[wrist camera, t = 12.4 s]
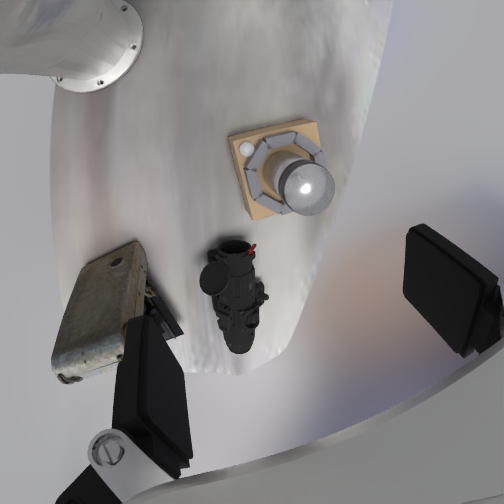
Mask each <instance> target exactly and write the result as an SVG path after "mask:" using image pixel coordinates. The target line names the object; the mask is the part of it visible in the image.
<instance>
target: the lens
mask: <svg viewBox="0 0 504 504" xmlns="http://www.w3.org/2000/svg"><path fill="white" fill-rule="evenodd" d="M263 178H264V181H265V183H266V184H267V185H268V186H269V187H270V188H271V189H272V190H273V191H274V192H275V193H276V194H277V195H278V196H279V197H280V198H281V199H282V201H283V202H284V203H285V204H286V205H287V206H288V207H289V208H290V209H291V210H293V211H294V212H296V213H298V214H300V215H304V216H312V215H316V214H318V213H320V212H322V211H323V210H325V209H326V208H327V207H328V206H329V204H330V203H331V201H332V199H333V197H334V193H335V183H334V179H333V177H332V175H331V174H330V172H329V171H328V170H327V169H326V168H325V167H323V166H321V165H320V164H318V163H316V162H314V161H311V160H307V159H305V158H303V157H301V156H299V155H297V154H295V153H293V152H291V151H286V150H283V151H278V152H276V153H274V154H272V155H271V156H270V157H269V158H268V159H267V160H266V162H265V164H264V167H263Z"/></svg>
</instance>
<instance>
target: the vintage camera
mask: <svg viewBox="0 0 504 504" xmlns="http://www.w3.org/2000/svg"><path fill="white" fill-rule="evenodd" d="M146 272H147V260H146V255H145V252H144V250H143V248H142V246H141V245H140V243H138V242H134V243H131V244H129V245H127V246H125V247H123V248H121V249H118V250H117V251H115V252H113V253H111V254H109V255H107V256H104V257H102V258H100V259H98V260H96V261H94V262H92V263H90V264H88V265H86V266H84V267H83V268H82V269H81V271H80V273H79V276H78V278H77V281H76V283H75V286H74V289H73V291H72V294H71V296H70V299H69V302H68V305H67V307H66V310H65V313H64V316H63V319H62V322H61V326H60V329H59V332H58V336H57V339H56V342H55V346H54V349H53V353H52V357H51V365H52V370H53V372H54V374H55V375H56V376H57V378H58V379H59V380H60V381H61V382H62V383H63V384H73V383H74V382H79V381H81V380H83V379H85V378H88V377H91V376H95V375H98V374H102V373H105V372H108V371H112V370H115V369H117V366H118V363H119V362H120V361H123V353H124V345H125V337H126V330H127V323H128V320H129V319H130V318H134V317H137V316H141V315H145V316H146V317H147V318H149V317H152V318H153V320H154V322H155V323H156V325H157V327H158V329H159V330H160V332H161V334H162V336H163V337H164V339H165V341H167V340H169V339H172V338H174V339H175V338H176V337H177V336H180V335H183V334H184V333H183V331H182V329H181V328H180V326H179V325H178V323H177V322H176V320H175V319H174V317H173V315H172V314H171V312H170V311H169V309H168V308H167V306H166V304H165V303H164V301H163V300H162V299H161V297H160V296H159V294H158V293H157V291H156V289H155V288H154V286H153V284H152V282H151V281H150V279H149V278H148V276H147V274H146Z"/></svg>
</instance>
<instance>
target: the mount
mask: <svg viewBox="0 0 504 504" xmlns="http://www.w3.org/2000/svg"><path fill="white" fill-rule="evenodd" d="M228 140H229V144H230V148H231V152H232V156H233V160H234V163H235V167H236V171H237V175H238V179H239V183H240V187H241V191H242V194H243V198H244V202H245V206H246V210H247V211H248V213H249V215H250V217H251V218H252V220H253V221H255V220H258V219H262V218H265V217H268V216H271V215H275V214H280V213H281V214H282V215H283V214H286V213H290V212H293V210H291V209H290V208H289V207H288V206H287V205H286V204H285V203H284V202H283V201H282V199H281V198H280V197H279V196H278V195H277V194H276V193H275V192H274V191H273V190H272V189H271V188H270V187H269V186H268V185H267V184H266V183H265V181H264V178H263V167H264V164H265V162H266V160H267V159H268V158H269V157H270V156H271V155H272V154H274V153H276V152H278V151H283V150H286V151H291V152H293V153H295V154H297V155H299V156H301V157H303V158H305V159H307V160H311V161H314V162H316V163H318V164H320V165H321V166H323V167H325V168H326V166H325V160H324V153H323V151H322V150H321V149H322V148H321V146H320V140H319V134H318V128H317V123H316V121H311V120H307V119H301V120H296V121H291V122H286V123H282V124H277V125H273V126H269V127H264V128H260V129H256V130H252V131H248V132H244V133H241V134H237V135H233V136H229V137H228Z"/></svg>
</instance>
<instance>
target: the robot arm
mask: <svg viewBox="0 0 504 504" xmlns="http://www.w3.org/2000/svg"><path fill="white" fill-rule="evenodd" d="M124 9H127V10H126V11H123V10H124ZM143 35H144V32H143V24H142V22H141V19H140V17H139V15H138V13H137V11H136V10H135V9H134V8H133V7H132V6H131V5H130V4H128V3H127V2H126V1H124V0H0V74H4V73H6V74H11V73H12V74H30V75H41V76H50V78H51V79H52V81H54V82H55V83H56V84H57V85H58V86H59V87H61V88H63V89H65V90H68V91H71V92H77V93H89V92H94V91H98V90H101V89H104V88H106V87H108V86H110V85H112V84H114V83H115V82H117V81H118V80H119V79H120V78H122V77H123V76H124V75H125V74H126V73H127V72H128V71H129V70H130V69H131V67H132V66H133V64H134V63H135V61H136V60H137V57H138V55H139V53H140V51H141V47H142V44H143ZM134 46H137V48H136V49H135V50H133V47H134ZM61 78H63V80H62V81H61ZM101 81H104V83H103V84H102V85H101ZM405 249H406V250H405V267H404V281H403V294H404V296H405V298H406V299H407V300H408V301H409V302H410V303H411V304H412V305H413V306H414V307H415V309H417V311H419V313H420V314H421V315H422V316H423V317H424V318H425V319H426V320H427V322H429V324H430V325H431V326H432V327H433V328H434V329H435V330H436V331H437V332H438V334H439V335H440V336H441V337H442V338H443V339H444V340H445V342H446V343H447V344H448V345H449V346H450V347H451V348H452V350H453V351H455V352H456V353H459V354H460V355H461V356H462V357H463V358H465V357H467V356H468V355H469V354H471V353H473V351H474V349H475V350H476V351H477V352H478V356H477V357H476V358H474V359H473V360H471V361H470V362H468V363H467V364H465V365H464V366H462V367H461V368H459V369H458V370H456V371H455V372H453V373H452V374H450V375H448V376H447V377H445V378H444V379H442V380H440V381H439V382H437V383H435V384H434V385H432V386H430V387H428V388H427V389H425V390H424V391H422V392H420V393H418V394H416V395H414V396H413V397H411V398H409V399H407V400H405V401H403V402H401V403H399V404H398V405H396V406H394V407H392V408H390V409H388V410H386V411H384V412H382V413H380V414H377V415H376V416H373V417H371V418H369V419H367V420H365V421H363V422H360V423H358V424H356V425H354V426H351V427H349V428H346V429H344V430H342V431H339V432H337V433H334V434H332V435H329V436H327V437H324V438H322V439H319V440H316V441H313V442H311V443H308V444H305V445H302V446H299V447H296V448H294V449H290V450H287V451H284V452H281V453H278V454H275V455H271V456H268V457H265V458H261V459H257V460H254V461H250V462H247V463H244V464H239V465H235V466H232V467H227V468H224V469H219V470H215V471H210V472H206V473H202V474H197V475H193V476H189V477H184V478H179V477H180V475H181V471H180V469H183V468H188V467H190V464H189V459H192V458H193V450H192V443H191V435H190V428H189V418H188V409H187V400H186V392H185V391H186V390H185V380H184V373H183V370H182V368H181V366H180V364H179V363H178V361H177V359H176V358H175V356H174V354H173V353H172V351H171V349H170V348H169V346H168V344H167V343H166V341H165V339H164V337H163V336H162V334H161V332H160V330H159V329H158V327H157V325H156V323H155V322H154V320H153V318H152V317H149V318H147V317H146V316H145V315H141V316H137V317H134V318H130V319H129V320H128V323H127V330H126V337H125V345H124V353H123V361H120V362H119V363H118V366H117V374H116V384H115V393H114V404H113V417H112V429H106V430H104V431H101V432H100V433H98V434H97V435H96V436H95V437H94V438H93V439H92V440H91V442H90V445H89V447H88V459H89V461H90V463H91V464H90V465H89V466H88V467H87V468H86V469H85V470H84V471H83V472H82V473H81V474H80V476H78V478H77V479H75V481H74V482H73V483H72V484H71V485H70V486H69V487H68V488H67V489H66V490H65V491H64V492H63V493H62V494H61V495H60V496H59V498H58V499H57V501H56V503H55V504H504V281H503V282H502V283H501V286H499V285H497V282H498V279H499V278H498V277H497V276H495V275H494V274H493V273H492V272H491V271H489V270H488V269H487V268H485V267H484V266H483V265H482V264H480V263H479V262H478V261H476V260H475V259H474V258H472V257H471V256H470V255H468V254H467V253H466V252H464V251H463V250H462V249H460V248H459V247H457V246H456V245H455V244H453V243H452V242H450V241H449V240H448V239H446V238H445V237H443V236H442V235H440V234H439V233H437V232H436V231H435V230H433V229H432V228H430V227H429V226H427V225H426V224H419V225H417V226H414V227H411V228H410V229H409V231H408V233H407V235H406V248H405Z"/></svg>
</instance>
